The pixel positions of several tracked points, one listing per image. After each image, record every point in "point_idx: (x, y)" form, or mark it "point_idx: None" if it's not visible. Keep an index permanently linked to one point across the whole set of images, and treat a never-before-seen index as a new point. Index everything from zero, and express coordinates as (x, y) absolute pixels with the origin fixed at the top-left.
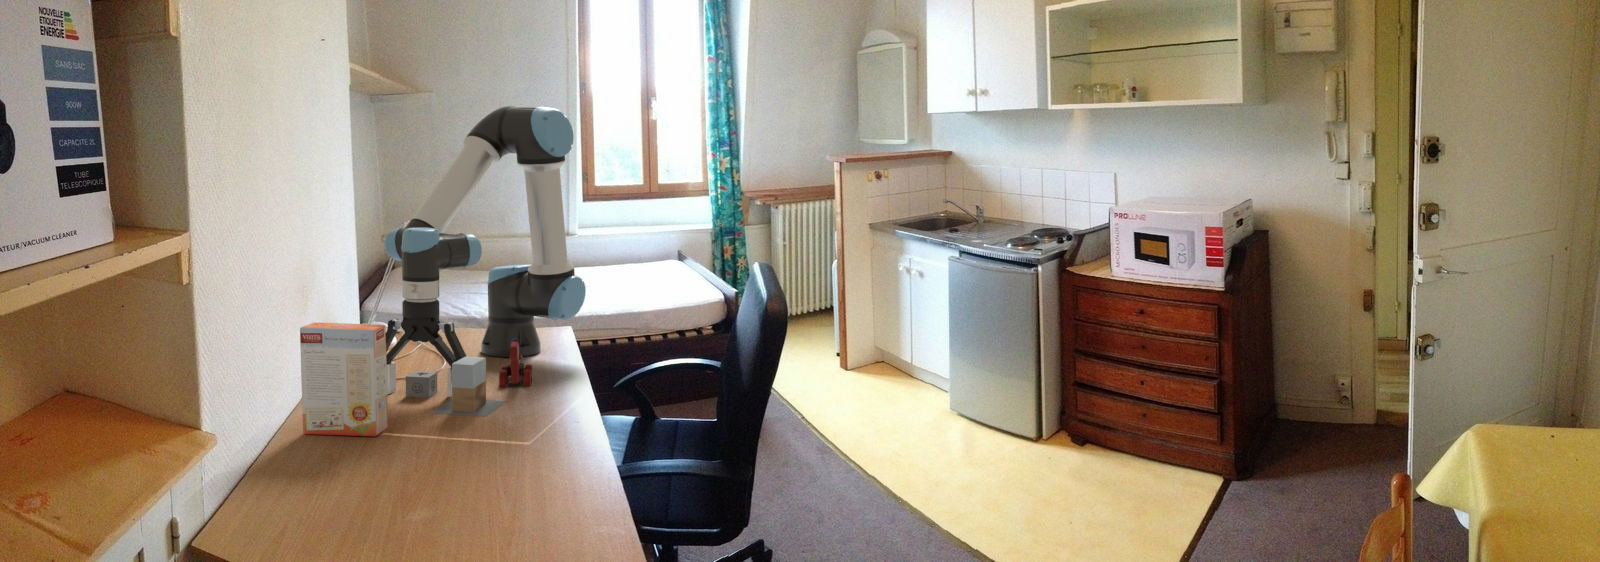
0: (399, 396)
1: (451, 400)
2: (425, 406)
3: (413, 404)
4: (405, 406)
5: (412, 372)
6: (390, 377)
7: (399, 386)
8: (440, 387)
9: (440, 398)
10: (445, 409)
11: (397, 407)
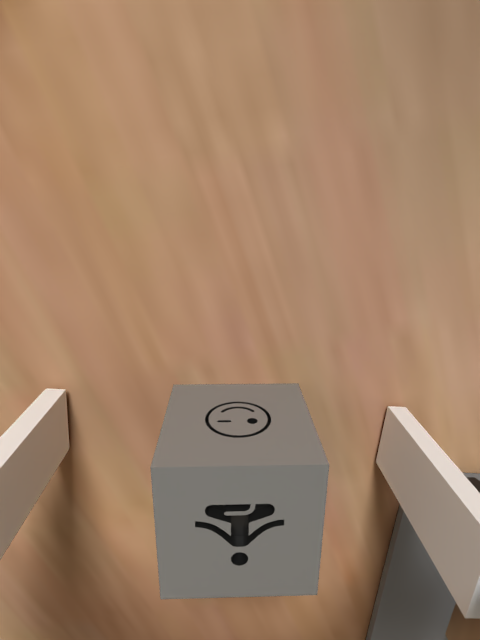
0: (130, 460)
1: None
2: None
3: None
4: None
5: (155, 506)
6: (25, 512)
7: (20, 271)
8: (272, 253)
9: (339, 460)
10: (415, 625)
11: (204, 601)
